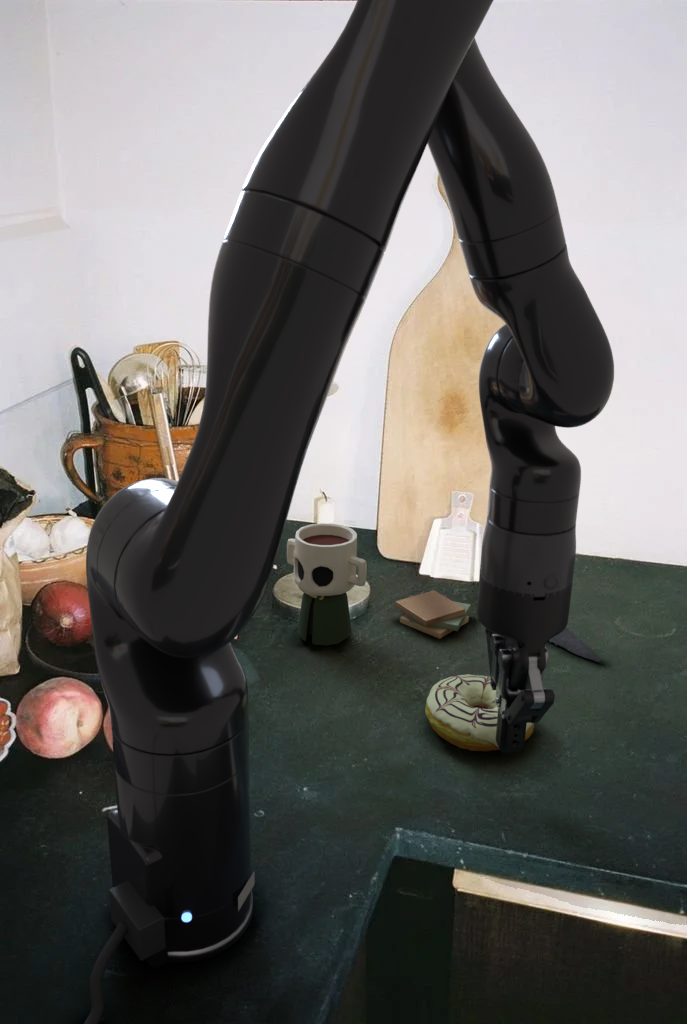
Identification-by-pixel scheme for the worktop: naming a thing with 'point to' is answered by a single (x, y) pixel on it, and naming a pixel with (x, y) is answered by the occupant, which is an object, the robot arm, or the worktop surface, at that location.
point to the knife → (574, 645)
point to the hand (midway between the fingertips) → (509, 747)
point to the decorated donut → (466, 712)
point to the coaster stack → (433, 613)
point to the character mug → (325, 579)
